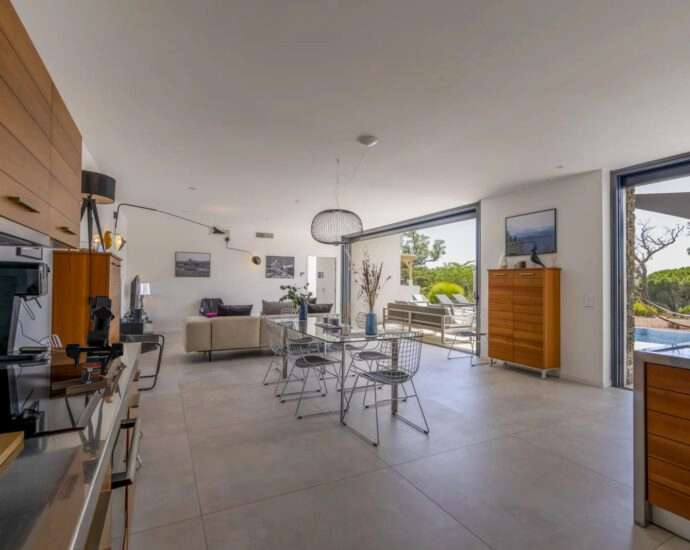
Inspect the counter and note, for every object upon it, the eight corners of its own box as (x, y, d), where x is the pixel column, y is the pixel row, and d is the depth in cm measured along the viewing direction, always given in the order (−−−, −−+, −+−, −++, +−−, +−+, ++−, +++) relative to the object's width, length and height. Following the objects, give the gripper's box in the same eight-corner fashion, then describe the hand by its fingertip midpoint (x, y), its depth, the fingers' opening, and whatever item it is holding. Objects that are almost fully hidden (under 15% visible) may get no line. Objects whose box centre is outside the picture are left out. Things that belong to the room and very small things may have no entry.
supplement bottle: (92, 389, 135) (94, 358, 135) (76, 388, 135) (78, 357, 135) (103, 385, 140) (105, 355, 141) (88, 384, 141) (90, 354, 141)
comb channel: (51, 390, 131) (52, 380, 131) (94, 382, 144) (95, 373, 144) (66, 395, 126) (67, 384, 126) (109, 386, 139) (110, 377, 139)
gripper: (68, 321, 139) (56, 356, 128) (125, 322, 146) (118, 355, 135) (72, 340, 145) (61, 374, 135) (126, 339, 153) (120, 372, 142)
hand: (90, 368), depth 136 cm, fingers open, 9 cm apart
